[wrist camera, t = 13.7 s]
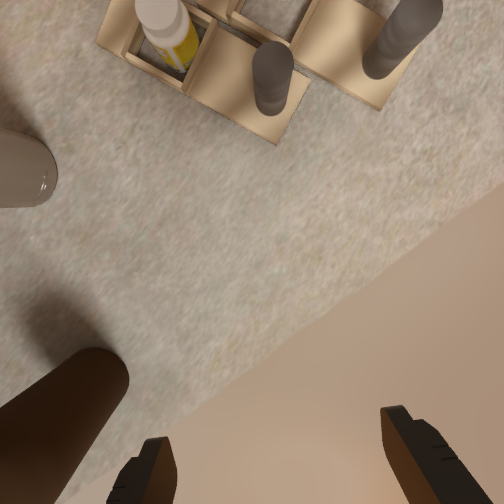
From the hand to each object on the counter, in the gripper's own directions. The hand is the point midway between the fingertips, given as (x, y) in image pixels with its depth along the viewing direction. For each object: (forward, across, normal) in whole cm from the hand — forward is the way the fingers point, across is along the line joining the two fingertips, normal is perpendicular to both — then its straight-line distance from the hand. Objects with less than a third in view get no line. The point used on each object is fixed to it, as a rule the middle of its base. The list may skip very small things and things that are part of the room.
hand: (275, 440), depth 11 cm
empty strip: (+29, -10, -26) cm, 40 cm away
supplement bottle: (+30, +5, -26) cm, 40 cm away
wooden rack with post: (+30, +3, -24) cm, 38 cm away
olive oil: (+28, +26, +14) cm, 41 cm away
